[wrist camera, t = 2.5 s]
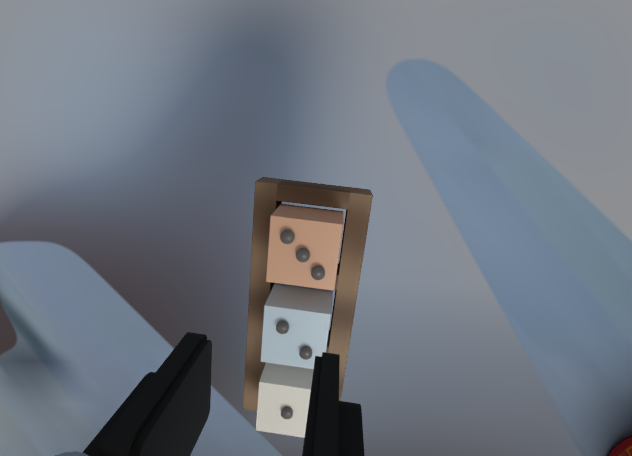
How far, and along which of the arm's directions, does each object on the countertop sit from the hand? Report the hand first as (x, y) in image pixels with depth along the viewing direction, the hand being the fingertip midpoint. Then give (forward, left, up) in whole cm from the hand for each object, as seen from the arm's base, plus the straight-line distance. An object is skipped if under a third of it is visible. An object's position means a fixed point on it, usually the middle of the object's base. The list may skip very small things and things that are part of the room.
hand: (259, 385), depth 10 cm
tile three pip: (0, 0, -15) cm, 15 cm away
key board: (-4, -5, -17) cm, 18 cm away
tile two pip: (-4, -5, -15) cm, 17 cm away
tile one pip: (-8, -10, -15) cm, 20 cm away
